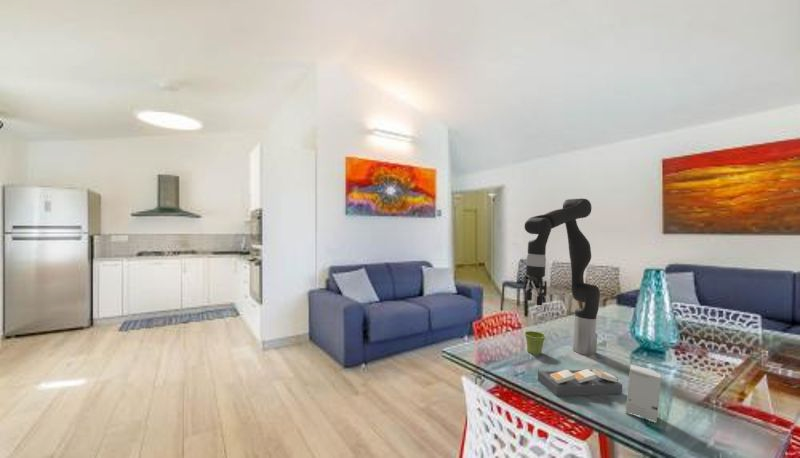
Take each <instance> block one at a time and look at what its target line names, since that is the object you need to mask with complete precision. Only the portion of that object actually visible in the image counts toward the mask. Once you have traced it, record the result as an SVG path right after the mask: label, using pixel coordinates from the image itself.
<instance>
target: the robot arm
mask: <svg viewBox="0 0 800 458" xmlns="http://www.w3.org/2000/svg"><path fill="white" fill-rule="evenodd" d="M591 213H592V203H591V202H590V200H589V199H587V198H571V199H566V200H564V202H563V204H562V208H559V209H554V210H552V211H550V212H549V211H548V212H547V213H545V214H540V215H535V216H531V217H529V218H528V219H526V221H525V222H524V230H525V232H527V233H528V234H530V235H537V236H536V238H535V239H531V240H529V241H528V243H527V255H526V263H525V275H524V279H523V290H525V292H526V294H525V295H526V296H525V300H526V301H527V302H528V301H532V300H533V291H534V292H535V293H536V302H535V304H536V306H543V297H545V296H547V289H548V288H547V287H548V285H547V283H548V282H547V280H543V278H544V277H546V266H547V265H546V264H547V263H546V262H547V259H546V257H547V256H546V253H547V252H546V249H547V243H548V241H549V237H550V234H551V231H552V229H554V228H556V227H559V226H560V225H563V224H565V228H566V235H567V241H568V253H569V259H570V260H569V261H570V268H571V269H570V271H571V294H572V297H573V299H574V300H576V301H578V302H581V303H584V307H581V308H576V309H575V311H574V322H573V323H574V324H573V338H572V339H573V343H572V350H573V351H574V353H575V352H576V353H578V354H581V355H586V356H592V355H593V356H594V355H595V354H596V355H597V351H598V350H597V348H598V347H597V346H598V334H597V333H596V330H597V317H598V313H599V305H600V297H601V292H600V288H599V287H598V286H597V285H595V284H589V283H585V280H584V274H585V271H586V270H587V267H588V266H589V264H590V262H591V261H592V251H591V250H592V248H591V244H590V241H589V240H588V239H587V237H586V236H585V235H584V234H583V232H582V231H581V230H580V228H579V225H578V221H577V220H578V219H584V218H587V217H589V216H590V215H591Z"/></svg>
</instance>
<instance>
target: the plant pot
mask: <svg viewBox="0 0 800 458" xmlns="http://www.w3.org/2000/svg"><path fill="white" fill-rule="evenodd" d="M524 335H525V338H526V339H525V340H526V351H527V352H528V353H531V354H533V355H539V354H542V350H543V346H544V341H545V339H546V337H547V335H546V334H545V333H543V332H539V331H534V330H527V331H525V332H524Z"/></svg>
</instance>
